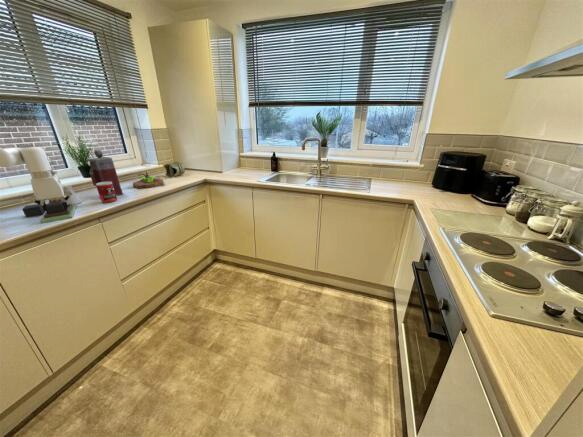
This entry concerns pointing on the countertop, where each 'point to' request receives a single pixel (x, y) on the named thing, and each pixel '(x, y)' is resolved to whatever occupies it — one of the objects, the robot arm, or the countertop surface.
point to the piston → (174, 169)
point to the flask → (72, 196)
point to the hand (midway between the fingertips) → (57, 210)
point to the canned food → (106, 192)
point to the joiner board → (60, 214)
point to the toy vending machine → (104, 171)
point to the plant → (147, 182)
